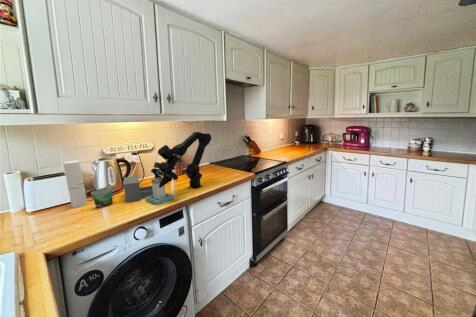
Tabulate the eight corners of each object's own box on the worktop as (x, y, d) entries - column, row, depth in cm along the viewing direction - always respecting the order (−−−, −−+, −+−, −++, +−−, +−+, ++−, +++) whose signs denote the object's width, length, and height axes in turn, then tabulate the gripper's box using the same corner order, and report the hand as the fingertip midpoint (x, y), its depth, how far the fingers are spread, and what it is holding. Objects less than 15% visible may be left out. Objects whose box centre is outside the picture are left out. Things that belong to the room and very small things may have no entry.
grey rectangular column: (90, 203, 125) (82, 160, 120) (77, 208, 118) (69, 163, 114) (81, 201, 127) (73, 160, 122) (68, 206, 121) (60, 163, 116)
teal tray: (162, 195, 133) (161, 191, 133) (173, 199, 127) (172, 195, 127) (146, 201, 125) (146, 197, 124) (157, 205, 119) (157, 201, 118)
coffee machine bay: (154, 189, 145) (153, 173, 143) (157, 197, 131) (155, 179, 129) (126, 194, 138) (124, 177, 136) (126, 202, 124) (123, 184, 122)
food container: (103, 209, 116) (100, 191, 114) (93, 208, 117) (90, 191, 115) (120, 200, 127) (117, 184, 125) (111, 200, 129) (108, 184, 127)
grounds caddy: (160, 194, 129) (158, 177, 127) (166, 196, 126) (164, 178, 124) (153, 197, 125) (151, 179, 123) (158, 199, 122) (156, 180, 120)
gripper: (151, 155, 130) (136, 177, 123) (172, 157, 119) (156, 182, 112) (164, 165, 138) (150, 186, 131) (184, 168, 127) (170, 192, 120)
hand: (156, 186), depth 123 cm, fingers closed on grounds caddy, 5 cm apart
